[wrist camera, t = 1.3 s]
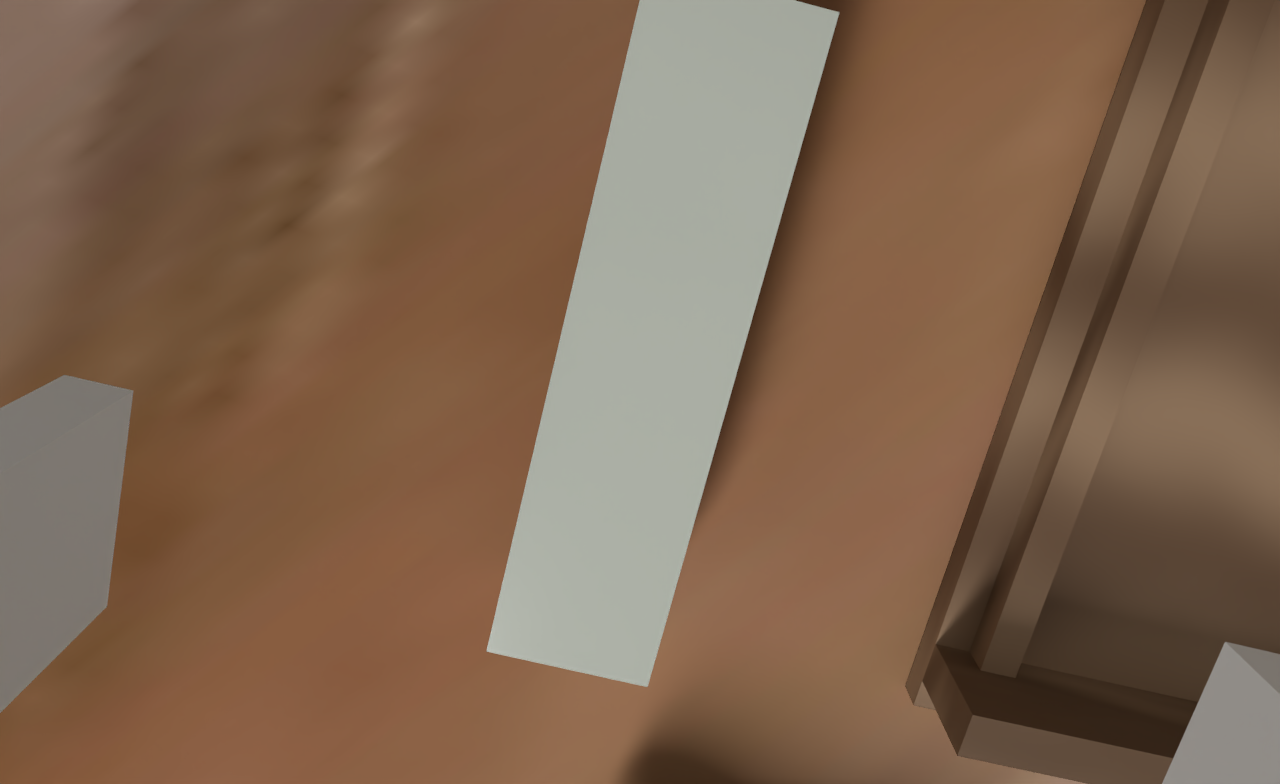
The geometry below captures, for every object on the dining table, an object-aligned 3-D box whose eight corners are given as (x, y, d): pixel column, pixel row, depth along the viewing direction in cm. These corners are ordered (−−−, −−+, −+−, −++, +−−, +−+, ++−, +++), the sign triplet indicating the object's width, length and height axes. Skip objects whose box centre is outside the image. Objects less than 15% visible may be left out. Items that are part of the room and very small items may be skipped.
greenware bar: (510, 562, 31) (486, 651, 26) (647, -18, 27) (648, -40, 22) (646, 593, 31) (647, 686, 26) (803, 23, 27) (839, 12, 22)
